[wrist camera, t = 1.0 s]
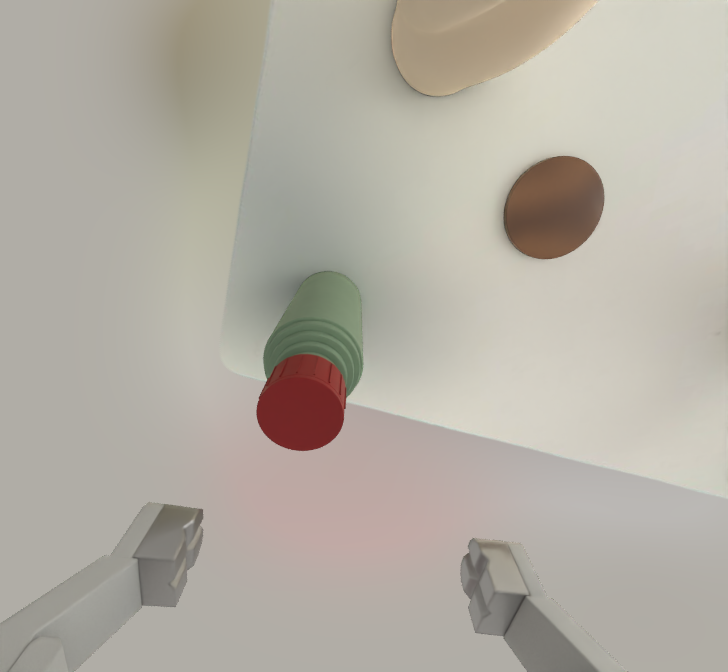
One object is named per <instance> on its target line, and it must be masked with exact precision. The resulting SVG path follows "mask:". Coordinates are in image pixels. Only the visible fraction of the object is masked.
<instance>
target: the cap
mask: <svg viewBox="0 0 728 672" xmlns="http://www.w3.org/2000/svg"><path fill="white" fill-rule="evenodd" d="M346 389H347V388H346V387H345V381H344V378H343V375H342V374H341V372H340V371H339V370H338V368H337V367H336V366H335V365H334V364H333V363H331V362H330V361H328V360H327V359H325V358H322V357H320V356H317V355H312V354H299V355H294V356H291V357H289V358H286V359H285V360H283V361H281V362H280V363H279V364H278V365H277V366H275V367H274V369H273V371H272V374H271V376H270V378H268V380H267V382H266V384H265V386H264V388H263V390H262V392H261V394H260V397H259V401H258V405H257V419H258V423H259V425H260V427H261V429H262V431H263V432H264V434H265V435H266V436H267V437H268V438H269V439H271V440H272V441H273V442H275V443H276V444H278V445H280V446H282V447H285V448H288V449H291V450H298V451H308V450H313V449H317V448H320V447H323V446H324V445H326V444H328V443H329V442H331V441H332V440H333V439H334V438H335V437H336V436H337V435H338V433H339V432H340V430H341V428H342V425H343V421H344V409H345V408H346Z"/></svg>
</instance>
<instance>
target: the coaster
mask: <svg viewBox="0 0 728 672" xmlns="http://www.w3.org/2000/svg"><path fill="white" fill-rule="evenodd" d="M603 206H604V189H603V184H602V181H601V179H600V177H599V175H598V173H597V172H596V170H595V169H594V168H593V167H592V166H591V165H590V164H588V163H587V162H585V161H584V160H581V159H579V158H576V157H571V156H558V157H553V158H549V159H546V160H543V161H541V162H539V163H537V164H535V165H533V166H532V167H530V168H529V169H528V170H527V171H526V172H524V173H523V174H522V175H521V177H520V178H519V179H518V180H517V181H516V183H515V184H514V186H513V187H512V189H511V191H510V193H509V195H508V198H507V201H506V205H505V210H504V224H505V229H506V233H507V235H508V237H509V239H510V241H511V242H512V244H513V245H514V246H515V247H516V248H517V249H518V250H519V251H520V252H522V253H524V254H526V255H528V256H531V257H534V258H538V259H552V258H557V257H561V256H563V255H566V254H568V253H570V252H572V251H573V250H575V249H576V248H578V247H579V246H580V245H582V244H583V243H584V242H585V241H586V240H587V239H588V238H589V236H590V235H591V234H592V232H593V231H594V230H595V228H596V226H597V224H598V222H599V220H600V218H601V214H602V211H603Z"/></svg>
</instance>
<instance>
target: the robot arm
mask: <svg viewBox="0 0 728 672" xmlns="http://www.w3.org/2000/svg"><path fill="white" fill-rule="evenodd" d="M202 519H203V510H202V509H197V508H190V507H182V506H175V505H168V504H159V503H151V502H149V503H147V504H146V505H145V506H144V507H143V508H142V509H141V511H140V512H139V514H138V515H137V517H136V518H135V519H134V521H133V523H132V524H131V525H130V527H129V528H128V530H127V531H126V533H125V534H124V536H123V537H122V539H121V540H120V542H119V543H118V545H117V546H116V548H115V549H114V551H113V552H112V553H111V555H110V556H106V555H104V556H102V557H101V558H99V559H98V560H96V561H95V562H93V563H92V564H90V565H89V566H87V567H86V568H84V569H83V570H81V571H80V572H78V573H76V574H75V575H73V576H72V577H70V578H69V579H67V580H66V581H64V582H63V583H61V584H60V585H58V586H57V587H55V588H54V589H52V590H51V591H49V592H48V593H46V594H45V595H43V596H41V597H40V598H38V599H37V600H35V601H34V602H32V603H31V604H29V605H28V606H26V607H25V608H23V609H22V610H20V611H19V612H17V613H16V614H14V615H12V616H11V617H9V618H8V619H6V620H5V621H3V622H2V623H0V672H74V671H75V670H76V669H77V668H78V667H79V666H81V664H83V663H84V662H85V661H86V660H87V659H88V658H89V657H90V656H91V655H92V654H93V653H94V652H95V651H96V650H97V649H99V647H101V646H102V645H103V644H104V643H105V642H106V641H107V640H108V639H109V638H110V637H111V636H112V635H113V634H114V633H116V632H117V630H119V629H120V628H121V627H122V626H123V625H124V624H125V623H126V622H127V621H128V620H129V619H130V618H131V617H132V616H134V615H135V613H137V612H138V611H139V610H140V609H141V608H142V605H145V606H164V607H176V605H177V603H178V601H179V598H180V596H181V594H182V592H183V589H184V587H185V585H186V582H187V570H189V569H190V568H191V567H192V566H194V564H195V561H196V559H197V556H198V554H199V550H200V547H201V544H202V537H203V528H202V527H201V526H200V524H201V522H202ZM468 548H469V553H468V554H466V555H465V556H464V557H463V560H462V563H461V582H462V586H463V590H464V592H465V593H466V594H467V595H468V597H469V598H470V599H471V601H470V604H469V606H468V609H469V612H470V616H471V620H472V623H473V627H474V630H475V633H481V634H488V635H497V636H504V639H505V641H506V642H507V644H508V645H509V647H510V648H511V649H512V651H513V652H514V653H515V655H516V656H517V658H518V659H519V660H520V662H521V663H522V665H523V666H524V668H525V669H526V670H527V672H628V671H627V670H626V669H625V668H623V667H622V666H621V665H620V664H619V663H618V662H617V661H616V660H615V659H614V658H613V657H612V656H611V655H610V654H609V653H608V652H607V651H606V650H605V649H604V648H603V647H602V646H601V645H600V644H599V643H598V642H597V641H596V640H595V639H594V638H593V637H592V636H591V635H589V633H587V631H586V630H585V629H584V628H582V626H580V625H579V624H578V623H577V622H576V621H575V620H574V619H573V618H572V617H571V616H570V615H569V614H568V613H567V612H566V611H565V610H564V609H563V608H562V607H561V606H560V605H559V604H558V603H557V602H556V601H555V600H554V599H552V598H548V597H547V595H546V592H545V590H544V588H543V586H542V584H541V582H540V580H539V578H538V576H537V574H536V572H535V570H534V568H533V565H532V563H531V561H530V559H529V557H528V555H527V553H526V551H525V549H524V547H523V546H522V545H521V544H520V543H513V542H503V541H497V540H487V539H477V538H473V539H472V540H470V542H469V545H468Z"/></svg>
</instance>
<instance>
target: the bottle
mask: <svg viewBox="0 0 728 672" xmlns="http://www.w3.org/2000/svg"><path fill="white" fill-rule="evenodd" d="M299 354H312V355H317V356H320V357H322V358H325V359H327V360H328V361H330V362H331V363H333V364H334V365H335V366H336V367H337V368H338V370H339V371H340V372H341V374H342V375H343V378H344V381H345V387H346V388H347V389H346V398H347V397H348V396H349V395H350V394H351V392H352V391H353V390H354V388H355V387H356V385H357V384H358V382H359V380H360V378H361V375H362V371H363V341H362V312H361V297H360V294H359V291H358V289H357V287H356V286H355V284H354V283H353V282H352V281H351V280H350V279H349V278H347V277H346V276H344V275H342V274H340V273H337V272H331V271H324V272H319V273H316V274H314V275H312V276H310V277H308V278H307V279H306V280H305V281H304V282H303V283H302V285H301V286H300V288H299V290H298V291H297V293H296V295H295V296H294V298H293V300H292V301H291V303H290V305H289V306H288V308H287V310H286V311H285V313H284V315H283V316H282V318H281V320H280V321H279V323H278V325H277V326H276V328H275V330H274V331H273V333H272V335H271V336H270V338H269V340H268V342H267V344H266V347H265V350H264V357H263V359H264V369H265V374H266V378H267V380H268V378H270V376H271V374H272V371H273V369H274V367H275V366H277V365H278V364H279V363H280V362H281V361H283V360H285V359H286V358H289V357H291V356H294V355H299Z"/></svg>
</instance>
